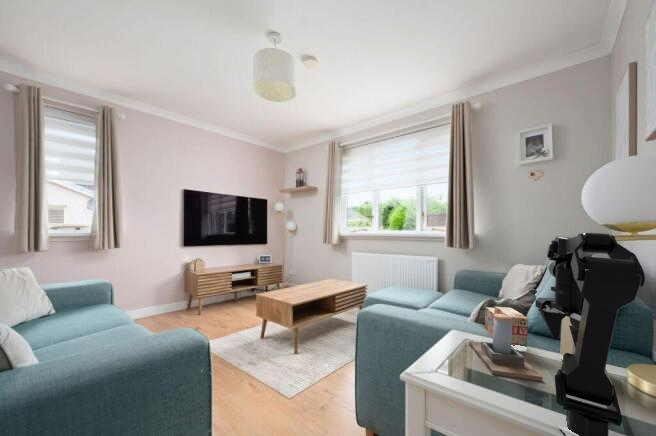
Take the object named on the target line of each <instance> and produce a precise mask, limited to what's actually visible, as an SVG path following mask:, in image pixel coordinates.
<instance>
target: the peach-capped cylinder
mask: <svg viewBox="0 0 656 436" xmlns="http://www.w3.org/2000/svg"><path fill="white" fill-rule="evenodd" d="M511 340H512V317H510V316H507V315H503V314H494V327H493V335H492V343H493V352H494V353H502V354H510V355H511Z"/></svg>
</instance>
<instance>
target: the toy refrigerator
mask: <svg viewBox="0 0 656 436" xmlns="http://www.w3.org/2000/svg"><path fill="white" fill-rule="evenodd" d="M569 325H571V326H572V324H571V322H570V317H568V316H566V317H564V318H563V319H562V322H561V328H560V347H559V348H560V350H559V355H560V354H561V355H564V354H565V353H570V354H575V345H574V342H573V338H572V334H571V331H570V327H569Z"/></svg>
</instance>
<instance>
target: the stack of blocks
mask: <svg viewBox="0 0 656 436" xmlns="http://www.w3.org/2000/svg"><path fill="white" fill-rule="evenodd" d="M484 310H485V311H484V328H485V330H486V331H487V332H488V333H490V335H491V336H493V327H494V314H503V315H507V316H510V317H512V340H511V345H513V346H515V345H520V346H525V347H527V348H528V336H529V335H528V334H529V332H528V331H529V318H528V317H526V316H525V315H524V314H523V313H521V312H519V311H517V310H515V309H513V307H508V306H507V307H505V306H494V307H484Z"/></svg>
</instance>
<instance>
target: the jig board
mask: <svg viewBox="0 0 656 436" xmlns="http://www.w3.org/2000/svg"><path fill="white" fill-rule="evenodd" d="M480 341H481V342H480ZM480 341H479V342H478V341H471V340H470V341H468V344H469V346H470V348H471V349H472V350H473V352H474V353H475V354H476V355H477V356H478V358H479V359H480V360H481V362H482V364H484V366H485V367H486V368H487V370H488V371H489V372H490V373H491V375H495V376H502V377H509V378H510V377H511V378H518V379H524V380H530V381H538V382H543V376H542V375H541V374H540V373H539V372H538V371H536V369H535V368H533V367H532V366H531V365H530V364H529V363H528V362H527V361H526V360H525V357H524V356H523V354H521V353H520V351H517V350H515V349H514V348H513V347H512V346H511V355H510V354H502V353H494V352H493V342H492V341H484V340H483V341H482V340H480Z"/></svg>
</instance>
